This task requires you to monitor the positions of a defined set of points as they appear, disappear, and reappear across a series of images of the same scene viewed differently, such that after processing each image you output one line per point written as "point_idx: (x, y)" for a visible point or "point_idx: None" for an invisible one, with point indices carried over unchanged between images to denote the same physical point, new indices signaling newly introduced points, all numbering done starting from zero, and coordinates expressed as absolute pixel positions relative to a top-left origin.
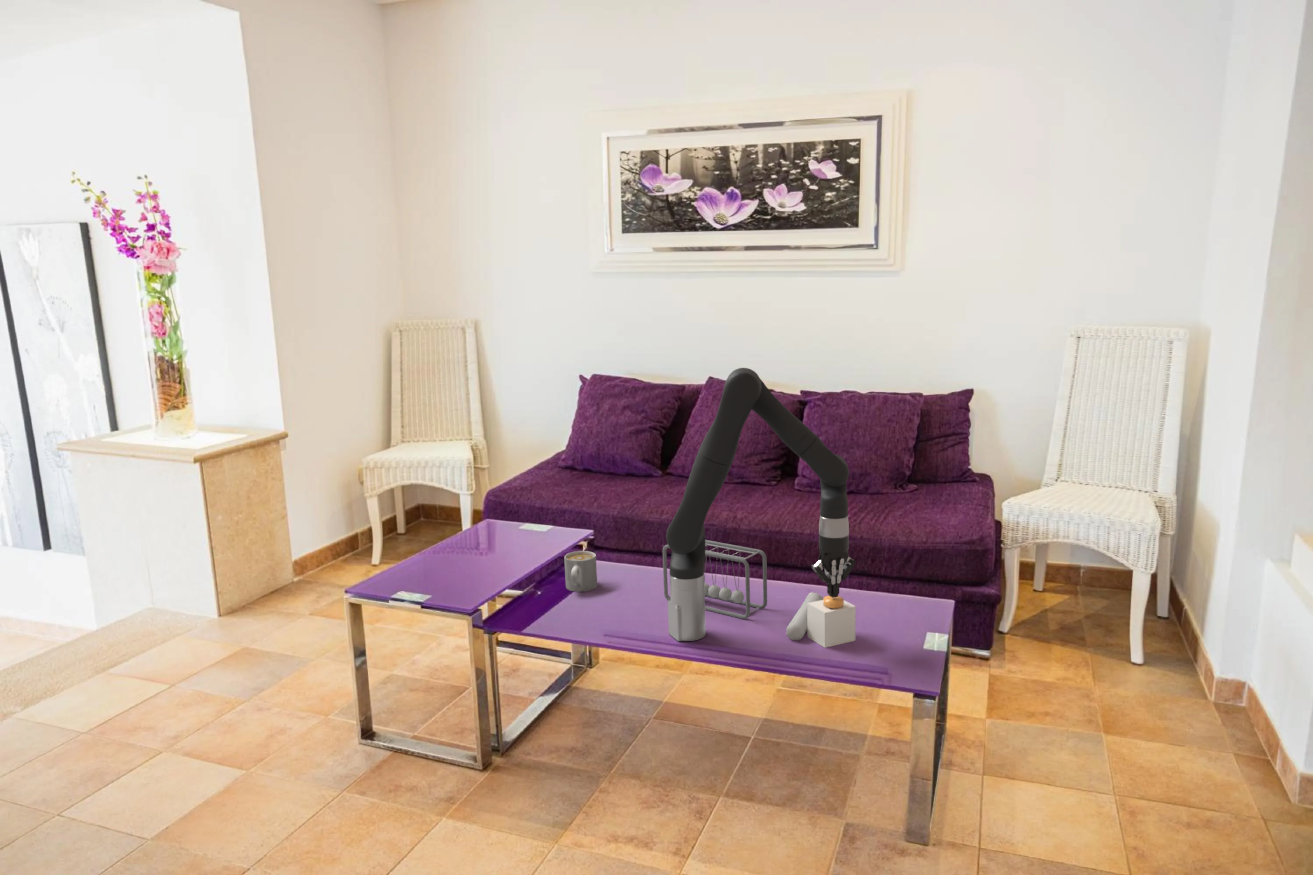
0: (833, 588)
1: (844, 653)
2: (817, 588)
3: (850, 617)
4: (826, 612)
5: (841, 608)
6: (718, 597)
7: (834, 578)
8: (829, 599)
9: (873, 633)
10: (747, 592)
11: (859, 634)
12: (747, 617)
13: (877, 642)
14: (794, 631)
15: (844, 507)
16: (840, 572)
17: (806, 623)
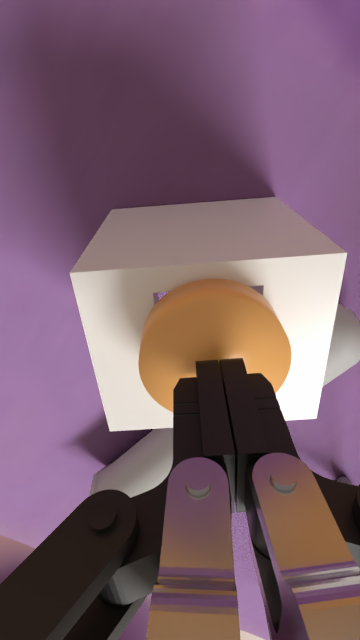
0: (258, 415)
1: (235, 91)
2: None
3: (125, 243)
4: (328, 256)
5: (187, 277)
6: None
7: (279, 529)
8: (248, 367)
9: (2, 244)
10: None
11: (66, 258)
12: (343, 477)
13: (20, 145)
14: (355, 319)
15: None
16: (199, 637)
17: None
